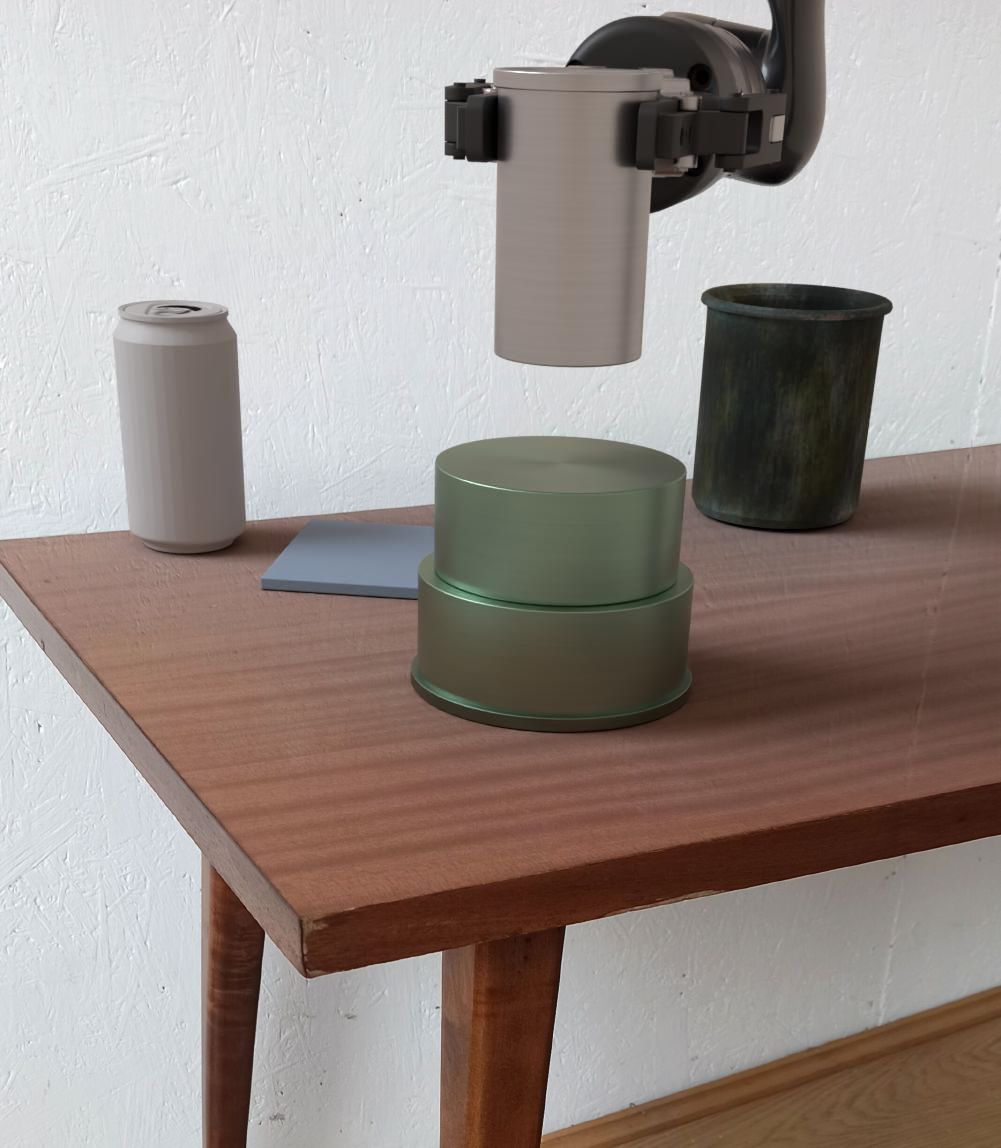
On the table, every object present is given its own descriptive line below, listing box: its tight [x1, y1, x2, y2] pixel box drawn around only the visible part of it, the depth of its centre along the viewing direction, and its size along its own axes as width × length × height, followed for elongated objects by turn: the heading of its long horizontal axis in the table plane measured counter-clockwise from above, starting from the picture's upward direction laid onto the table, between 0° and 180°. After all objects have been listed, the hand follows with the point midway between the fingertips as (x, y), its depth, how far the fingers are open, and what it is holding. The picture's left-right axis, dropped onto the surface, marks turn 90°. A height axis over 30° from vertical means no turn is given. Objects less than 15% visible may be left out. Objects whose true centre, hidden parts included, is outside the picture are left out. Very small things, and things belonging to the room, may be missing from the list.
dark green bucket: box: [690, 282, 894, 530], centre depth 103 cm, size 11×15×12 cm
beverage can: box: [112, 299, 247, 554], centre depth 92 cm, size 6×6×12 cm
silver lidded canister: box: [492, 66, 663, 368], centre depth 68 cm, size 6×6×10 cm
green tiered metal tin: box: [410, 435, 695, 733], centre depth 75 cm, size 13×13×10 cm
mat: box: [260, 518, 434, 600], centre depth 93 cm, size 12×12×1 cm
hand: (560, 133), depth 64 cm, fingers closed on silver lidded canister, 6 cm apart
